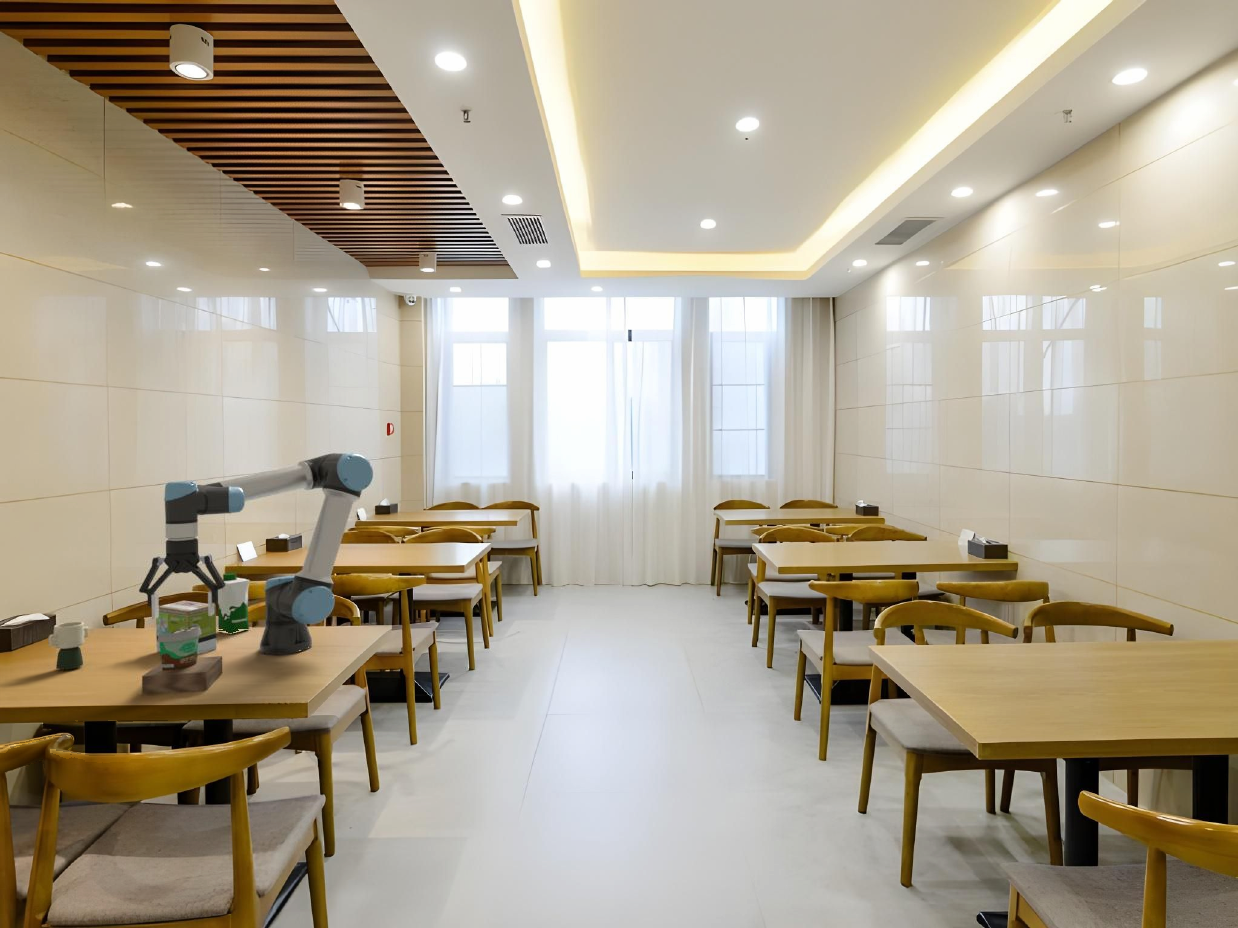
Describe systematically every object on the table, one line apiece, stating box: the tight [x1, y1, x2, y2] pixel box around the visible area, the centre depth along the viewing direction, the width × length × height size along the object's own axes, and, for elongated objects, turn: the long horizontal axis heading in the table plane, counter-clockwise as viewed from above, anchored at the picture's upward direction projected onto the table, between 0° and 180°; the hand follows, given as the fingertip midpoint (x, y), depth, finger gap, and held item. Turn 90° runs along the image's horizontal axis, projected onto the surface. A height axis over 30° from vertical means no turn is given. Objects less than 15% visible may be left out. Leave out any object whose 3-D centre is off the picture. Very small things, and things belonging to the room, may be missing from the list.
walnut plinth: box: [141, 655, 223, 696], centre depth 197 cm, size 15×15×5 cm
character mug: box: [48, 621, 90, 671], centre depth 211 cm, size 11×7×13 cm, turn 161°
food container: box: [156, 624, 201, 670], centre depth 197 cm, size 12×6×10 cm, turn 170°
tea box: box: [155, 600, 217, 656], centre depth 229 cm, size 15×10×15 cm
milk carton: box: [217, 572, 251, 633], centre depth 254 cm, size 9×9×20 cm
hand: (183, 616), depth 197 cm, fingers open, 13 cm apart
